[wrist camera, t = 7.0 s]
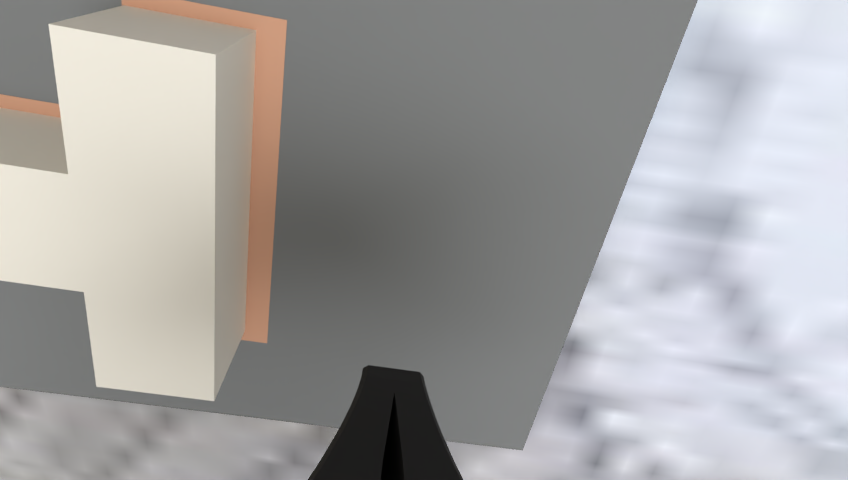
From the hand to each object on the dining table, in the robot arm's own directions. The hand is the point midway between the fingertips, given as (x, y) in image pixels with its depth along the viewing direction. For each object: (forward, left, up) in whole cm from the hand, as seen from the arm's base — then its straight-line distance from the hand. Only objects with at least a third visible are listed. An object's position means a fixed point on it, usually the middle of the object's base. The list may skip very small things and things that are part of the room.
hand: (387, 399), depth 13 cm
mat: (-4, +4, -9) cm, 11 cm away
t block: (-8, +8, -9) cm, 15 cm away
